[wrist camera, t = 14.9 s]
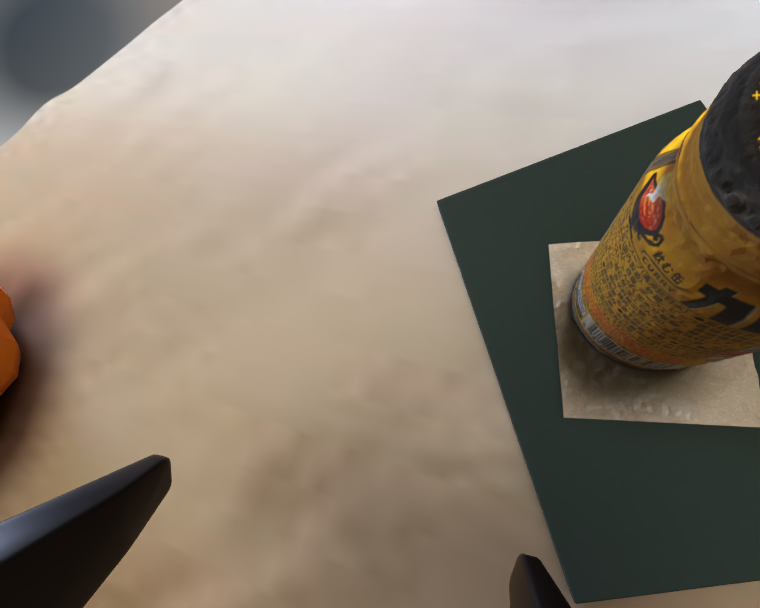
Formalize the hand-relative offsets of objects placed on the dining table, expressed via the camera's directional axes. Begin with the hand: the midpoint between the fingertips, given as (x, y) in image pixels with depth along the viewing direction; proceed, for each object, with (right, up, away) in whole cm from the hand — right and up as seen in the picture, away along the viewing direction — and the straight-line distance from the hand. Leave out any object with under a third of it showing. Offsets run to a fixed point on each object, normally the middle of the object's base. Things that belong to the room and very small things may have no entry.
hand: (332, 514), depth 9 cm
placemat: (+13, +4, +8) cm, 16 cm away
